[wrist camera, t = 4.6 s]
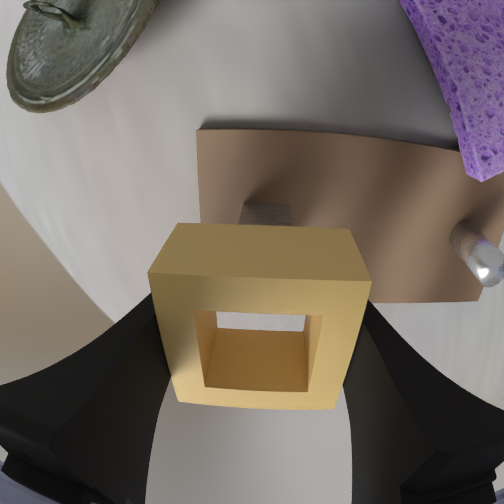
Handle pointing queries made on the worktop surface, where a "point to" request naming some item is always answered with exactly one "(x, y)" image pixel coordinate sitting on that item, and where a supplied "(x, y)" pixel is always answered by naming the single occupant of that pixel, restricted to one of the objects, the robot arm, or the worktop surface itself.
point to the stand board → (363, 204)
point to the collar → (259, 301)
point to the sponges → (468, 73)
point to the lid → (70, 48)
